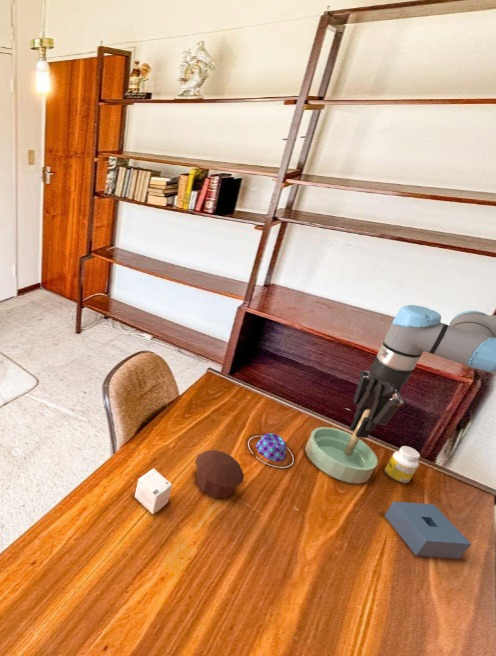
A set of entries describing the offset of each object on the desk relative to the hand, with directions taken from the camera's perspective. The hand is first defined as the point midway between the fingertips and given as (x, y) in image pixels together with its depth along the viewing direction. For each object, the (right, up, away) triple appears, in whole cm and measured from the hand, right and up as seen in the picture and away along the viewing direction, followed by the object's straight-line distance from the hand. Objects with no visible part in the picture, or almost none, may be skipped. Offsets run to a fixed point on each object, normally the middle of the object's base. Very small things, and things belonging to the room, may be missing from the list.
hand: (358, 433), depth 110 cm
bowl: (-3, -10, +4) cm, 11 cm away
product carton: (-61, -14, -9) cm, 63 cm away
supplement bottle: (+11, -13, +1) cm, 17 cm away
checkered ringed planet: (-21, -8, +7) cm, 23 cm away
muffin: (-42, -13, -4) cm, 45 cm away
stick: (0, -8, +4) cm, 8 cm away
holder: (+2, -20, -16) cm, 25 cm away
